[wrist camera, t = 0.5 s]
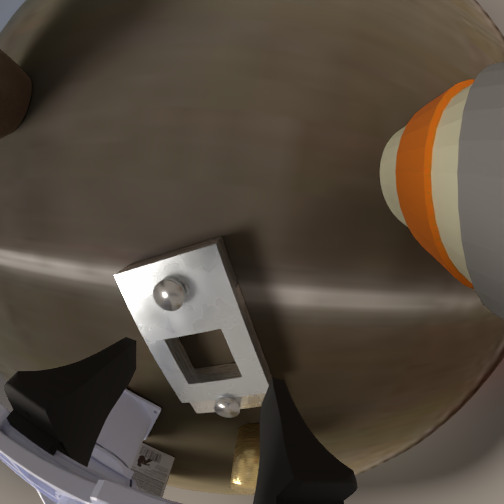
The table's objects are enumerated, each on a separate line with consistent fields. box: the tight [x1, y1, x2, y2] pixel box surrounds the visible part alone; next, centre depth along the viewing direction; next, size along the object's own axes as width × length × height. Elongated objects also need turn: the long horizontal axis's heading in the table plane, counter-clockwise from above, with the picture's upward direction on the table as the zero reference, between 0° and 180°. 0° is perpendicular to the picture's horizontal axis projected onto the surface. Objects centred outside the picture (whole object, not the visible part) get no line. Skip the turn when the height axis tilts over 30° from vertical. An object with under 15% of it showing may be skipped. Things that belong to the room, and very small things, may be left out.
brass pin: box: [230, 424, 260, 494], centre depth 24 cm, size 4×4×8 cm
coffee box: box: [130, 443, 175, 498], centre depth 24 cm, size 9×6×16 cm
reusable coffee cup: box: [380, 62, 504, 319], centre depth 11 cm, size 13×13×15 cm
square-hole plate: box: [114, 236, 272, 418], centre depth 22 cm, size 17×9×3 cm, turn 17°
